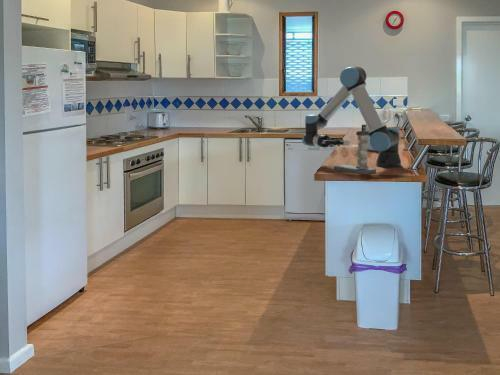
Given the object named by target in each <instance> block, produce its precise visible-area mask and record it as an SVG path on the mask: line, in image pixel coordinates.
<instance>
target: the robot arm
mask: <svg viewBox="0 0 500 375" xmlns="http://www.w3.org/2000/svg"><path fill="white" fill-rule="evenodd" d="M366 81H367V72H366V70H365V69H364V68H362V67H360V66H348V67H346V68H344V69H343V70H342V71H341V72H340V75H339V82H340V83H341V85H342V86H341V88H340V89H339V90H338V91H337V92H336V93H335V95H334V96H333V97H332V98H331V99H330V100H329V101H328V103H327V104H325V106H324V107H323V108H322V110H321V111H320V112H319V113H318V114H307V115H305V117H304V118H305V119H304V123H305V124H304V125H305V126H304V129H305V132H304V134H303V135H302V137H301V138H302V139H301V142H302V144H303V145H304V146H307V147H317V148H318V149H319V148H328V147H329V146H338V147H340V146H347V147H349V146H350V140H345V139H343V138H342V139H340V138H332V137H330V136H329V135H326V134H319V132H318V131H319V130H318V129H320V130H321V129H324V128H325V127H326V126H327V125H328V122H329V121H330V120H331V118H332V117H333V116H334V115H336V113H337V112H338V110H340V109H341V107H342V106H343V105H344V104H345V103H346V101H348V100H349V98H350V97H351V96H352V97H353V100H354V101H355V103H356V105H357V108H358V110H359V112H360V115H361V116H362V118H363V120H364V122H365V125H367V127H368V129H369V137H370V145H371V147H372V148H373V149H374V150H376V151H375V152H378V155H377V159H376V161H375V166H377V167H383V168H392V167H393V168H394V167H395V168H396V167H401V166H402V161H401V158H400V154H399V147H400V146H399V145H400V129H399V128H397V127H387V125H386V124H384V123H383V122H382V121H381V119H380V116H379V113H377V110H376V108H375V106H374V104H373V102H372V99H371V97H370V95H369V92H368V91H367V89H366V86H367V82H366Z"/></svg>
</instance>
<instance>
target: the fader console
mask: <svg viewBox="0 0 500 375" xmlns="http://www.w3.org/2000/svg"><path fill="white" fill-rule="evenodd" d="M356 166H357V165H351V164H350V165H349V164H340V165H339V164H338V165H333V170H338V171H342V170H343V171H342V172H348V171H349V173H355V174H360V175H361V174H362V175H369V173H370V174H376V173H377V169H375V168H371V167H368V168H367V169H358V168H356Z"/></svg>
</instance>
